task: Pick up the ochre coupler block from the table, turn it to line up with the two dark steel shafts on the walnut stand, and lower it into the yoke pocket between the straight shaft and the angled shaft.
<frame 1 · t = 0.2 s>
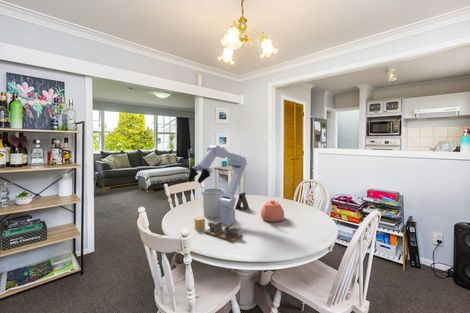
hand: (193, 181, 123), 31 cm above the table, tool tilted 45°, fingers open, 7 cm apart
shaft stand: (223, 234, 129), on the table
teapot: (271, 219, 153), on the table
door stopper: (242, 208, 176), on the table
coupler block: (199, 228, 138), on the table
utensil holder: (213, 214, 163), on the table
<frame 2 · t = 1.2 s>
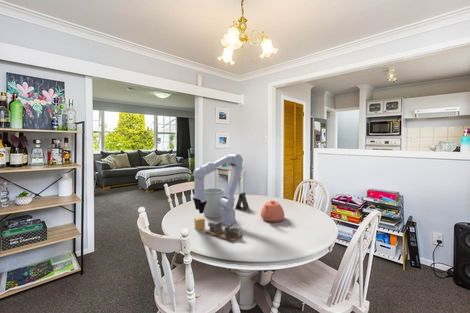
hand: (199, 211, 137), 10 cm above the table, tool pointing down, fingers open, 7 cm apart
nothing on the table moved.
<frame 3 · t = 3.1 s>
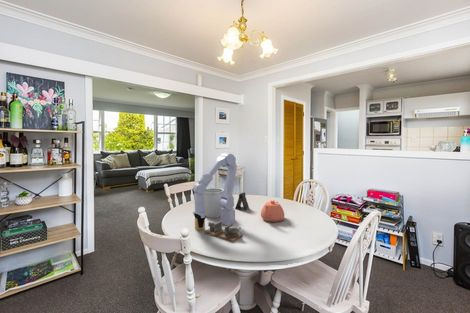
hand: (199, 226, 138), 1 cm above the table, tool pointing down, fingers closed on coupler block, 4 cm apart
coupler block: (199, 228, 138), on the table, touching gripper
everything else where it was.
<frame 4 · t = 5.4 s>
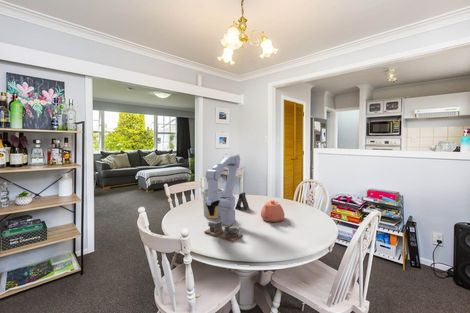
hand: (213, 214, 131), 10 cm above the table, tool pointing down, fingers closed on coupler block, 4 cm apart
coupler block: (212, 216, 132), point 9 cm above the table, touching gripper
everything else where it was.
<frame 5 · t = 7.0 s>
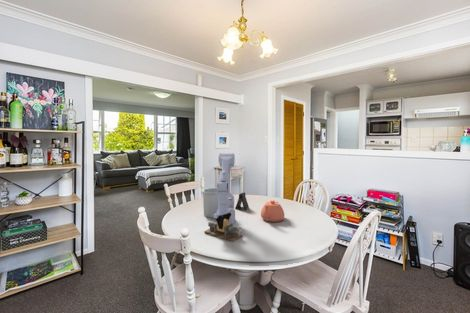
hand: (223, 227, 128), 4 cm above the table, tool pointing down, fingers closed on coupler block, 4 cm apart
coupler block: (222, 230, 129), point 3 cm above the table, touching gripper
everything else where it was.
when the fingers open (4 cm above the table, at t = 8.0 s): coupler block stays where it is, resting on shaft stand.
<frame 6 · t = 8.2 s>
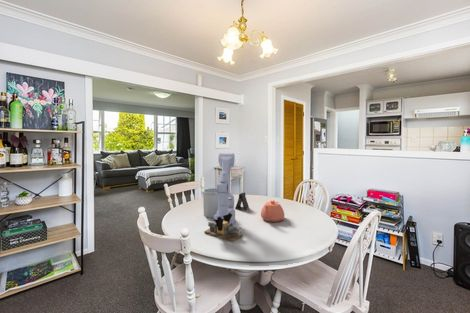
hand: (223, 228, 128), 4 cm above the table, tool pointing down, fingers open, 6 cm apart
coupler block: (222, 232, 129), point 1 cm above the table, touching shaft stand
everything else where it was.
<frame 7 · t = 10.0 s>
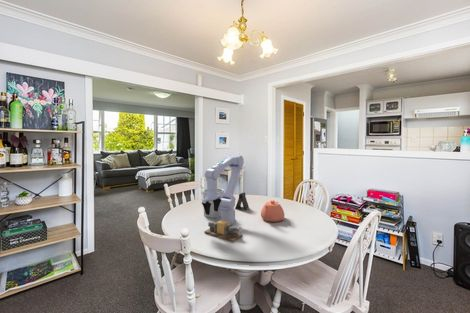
hand: (211, 212, 134), 10 cm above the table, tool pointing down, fingers open, 7 cm apart
nothing on the table moved.
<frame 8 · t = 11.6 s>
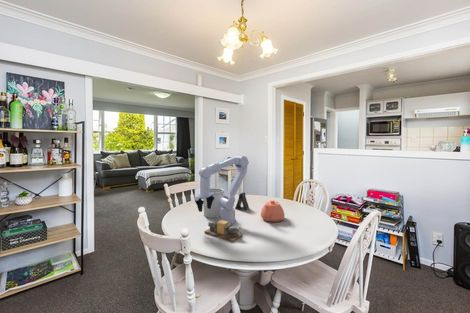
hand: (204, 210, 139), 10 cm above the table, tool pointing down, fingers open, 7 cm apart
nothing on the table moved.
at the end: coupler block 0.4 cm from the shaft stand (horizontally); coupler block point 1.2 cm above the table; coupler block tilted 0° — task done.
